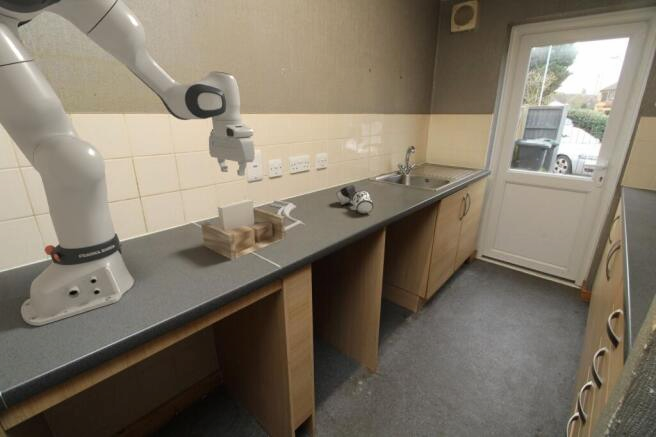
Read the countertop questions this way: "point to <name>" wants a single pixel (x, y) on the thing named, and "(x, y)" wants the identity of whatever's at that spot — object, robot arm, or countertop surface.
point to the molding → (286, 212)
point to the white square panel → (236, 215)
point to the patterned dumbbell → (356, 199)
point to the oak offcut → (243, 238)
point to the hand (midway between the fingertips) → (232, 173)
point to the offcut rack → (225, 240)
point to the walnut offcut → (262, 231)
